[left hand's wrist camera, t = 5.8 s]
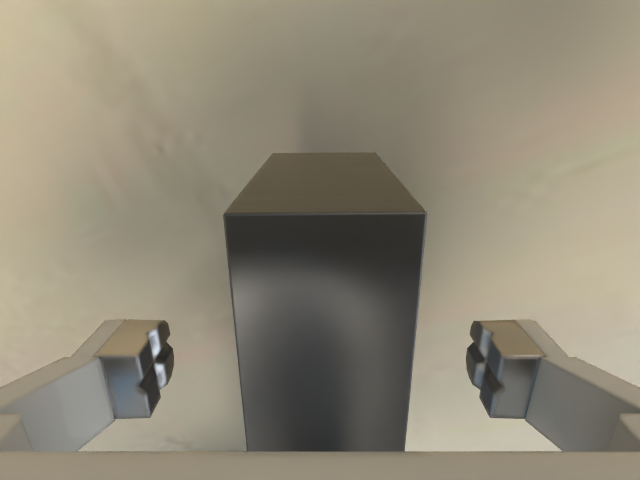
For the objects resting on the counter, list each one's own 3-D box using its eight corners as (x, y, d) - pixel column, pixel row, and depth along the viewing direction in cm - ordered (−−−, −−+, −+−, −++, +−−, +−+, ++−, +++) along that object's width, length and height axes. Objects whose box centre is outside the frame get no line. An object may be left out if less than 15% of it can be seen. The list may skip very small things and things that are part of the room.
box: (272, 152, 21) (221, 213, 11) (375, 152, 21) (428, 212, 11) (289, 499, 31) (272, 708, 21) (361, 499, 31) (380, 709, 21)
